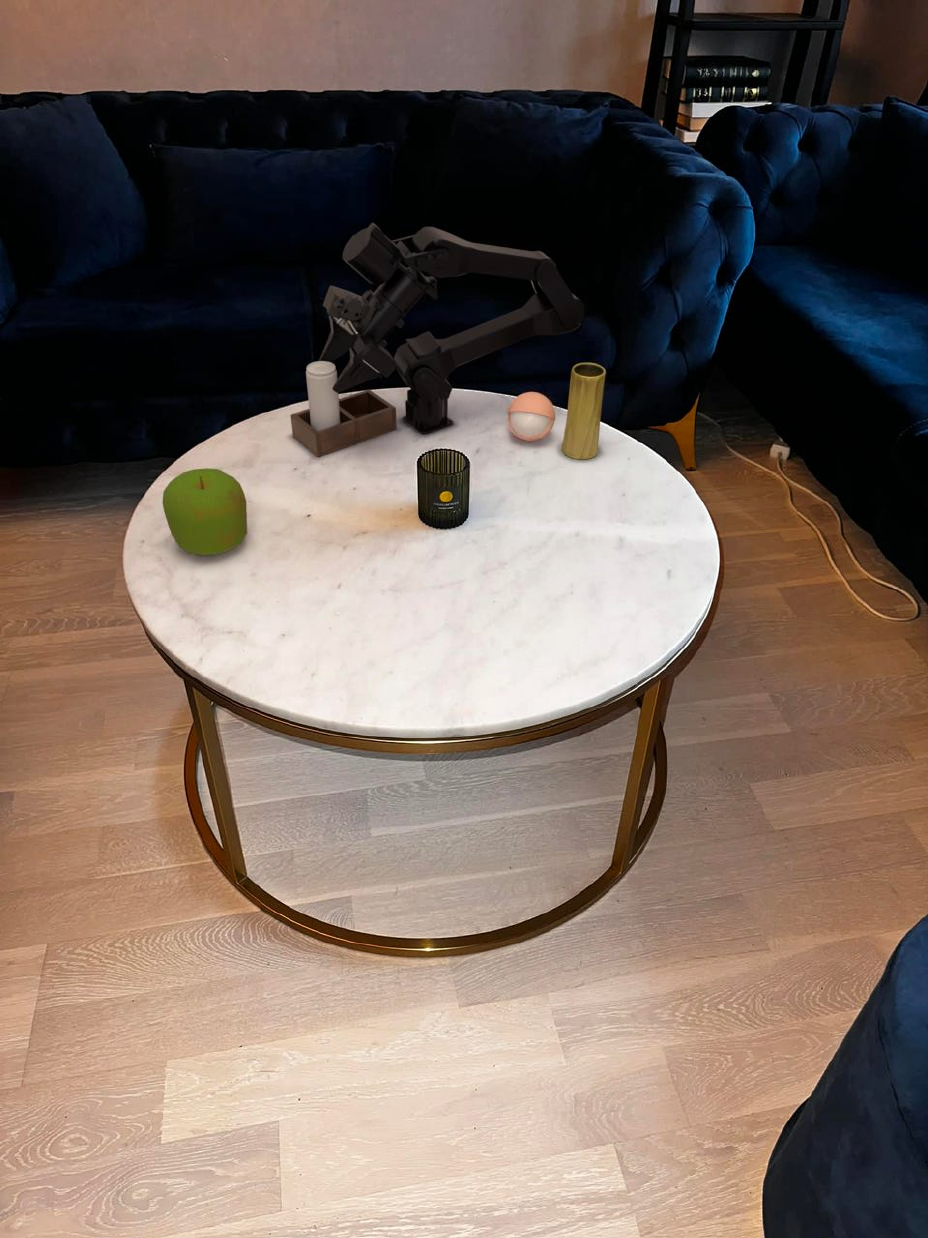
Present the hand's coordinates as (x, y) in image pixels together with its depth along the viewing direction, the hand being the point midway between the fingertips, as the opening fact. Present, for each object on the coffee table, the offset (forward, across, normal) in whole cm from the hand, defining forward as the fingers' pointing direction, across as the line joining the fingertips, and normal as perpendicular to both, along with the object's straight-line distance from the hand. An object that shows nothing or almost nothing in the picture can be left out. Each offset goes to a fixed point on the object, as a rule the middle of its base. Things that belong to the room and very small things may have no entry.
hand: (327, 378), depth 149 cm
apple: (+24, +23, -9) cm, 34 cm away
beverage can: (+8, 0, +7) cm, 10 cm away
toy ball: (-14, +10, +30) cm, 35 cm away
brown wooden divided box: (+6, -1, +9) cm, 11 cm away
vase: (-19, +17, +34) cm, 43 cm away
